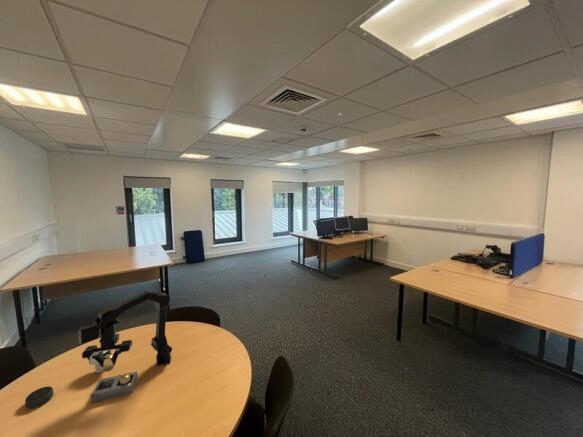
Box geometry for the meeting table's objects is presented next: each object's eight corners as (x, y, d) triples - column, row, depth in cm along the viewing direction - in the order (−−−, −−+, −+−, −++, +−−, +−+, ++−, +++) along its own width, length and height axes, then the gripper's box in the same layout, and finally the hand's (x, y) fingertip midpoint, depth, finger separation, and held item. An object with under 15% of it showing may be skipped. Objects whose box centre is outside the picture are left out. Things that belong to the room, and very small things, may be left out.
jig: (137, 378, 124) (137, 371, 124) (132, 393, 115) (131, 385, 114) (100, 387, 118) (99, 379, 118) (91, 403, 109) (90, 395, 109)
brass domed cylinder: (116, 364, 119) (115, 352, 119) (112, 370, 115) (112, 358, 115) (105, 366, 118) (105, 354, 117) (101, 372, 114) (101, 360, 113)
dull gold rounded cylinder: (132, 383, 121) (131, 372, 120) (129, 389, 117) (129, 378, 116) (121, 385, 119) (121, 374, 119) (119, 392, 115) (118, 380, 115)
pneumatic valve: (105, 375, 126) (104, 353, 125) (87, 372, 129) (86, 351, 128) (115, 368, 132) (114, 347, 131) (98, 365, 134) (96, 344, 133)
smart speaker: (31, 398, 112) (30, 390, 112) (56, 390, 117) (55, 382, 116) (21, 412, 105) (20, 404, 104) (49, 404, 109) (48, 395, 109)
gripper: (134, 323, 126) (135, 351, 127) (91, 329, 120) (92, 359, 121) (128, 334, 116) (129, 365, 117) (80, 341, 109) (82, 374, 110)
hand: (108, 365), depth 116 cm, fingers closed on brass domed cylinder, 4 cm apart
